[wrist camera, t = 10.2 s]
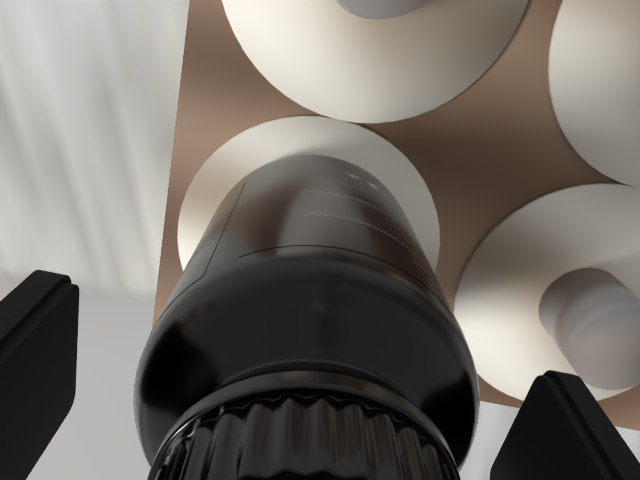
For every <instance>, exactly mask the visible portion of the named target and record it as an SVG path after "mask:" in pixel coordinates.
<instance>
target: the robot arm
mask: <svg viewBox="0 0 640 480" xmlns="http://www.w3.org/2000/svg"><path fill="white" fill-rule="evenodd" d="M78 312H79V287H78V286H77V285H75V284H71V279H70V277H69V276H68V275H63V274H58V273H53V272H48V271H42V270H36V271H34V272H33V273H32V274H30V275H29V276H28V277H27V278H26V279H25V280H24V281H23V282H22V283H20V284H19V285H18V286H17V287H16V288H15V289H14V290H13V291H11V292H10V293H9V294H8V295H7V296H6V297H5V298H4V299H3V300H2V301H0V480H26V478H27V477H28V475H29V474H30V472H31V471H32V469H33V467H34V466H35V464H36V463H37V461H38V460H39V458H40V457H41V455H42V454H43V452H44V450H45V449H46V447H47V446H48V444H49V442H50V441H51V439H52V438H53V436H54V435H55V433H56V432H57V430H58V429H59V427H60V425H61V424H62V422H63V421H64V419H65V418H66V416H67V414H68V413H69V411H70V409H71V407H72V404H73V401H74V398H75V389H76V364H77V362H76V361H77V338H78ZM490 480H640V463H639V462H638V460H637V459H636V457H635V456H634V454H633V453H632V451H631V450H630V448H629V447H628V446H627V444H626V443H625V441H624V440H623V438H622V437H621V435H620V434H619V432H618V431H617V430H616V428H615V427H614V425H613V424H612V422H611V421H610V419H609V418H608V417H607V415H606V414H605V412H604V411H603V409H602V408H601V406H600V405H599V403H598V402H597V401H596V399H595V398H594V396H593V395H592V393H591V392H590V390H589V389H588V387H587V386H586V385H585V383H584V382H583V380H582V379H581V378H580V377H579V376H577V375H574V374H569V373H564V372H559V371H554V370H548V371H546V372H545V373H544V374H543V375H539V376H537V377H536V378H535V379H534V381H533V383H532V385H531V387H530V389H529V391H528V393H527V395H526V397H525V400H524V402H523V404H522V406H521V408H520V410H519V412H518V414H517V416H516V418H515V420H514V422H513V424H512V426H511V428H510V430H509V432H508V435H507V437H506V439H505V441H504V443H503V445H502V447H501V449H500V451H499V453H498V455H497V457H496V459H495V461H494V463H493V465H492V468H491V472H490Z"/></svg>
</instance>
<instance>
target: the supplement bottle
mask: <svg viewBox="0 0 640 480" xmlns="http://www.w3.org/2000/svg"><path fill="white" fill-rule="evenodd" d="M479 406H480V399H479V383H478V376H477V371H476V367H475V364H474V360H473V357H472V354H471V352H470V349H469V347H468V344H467V341H466V339H465V336H464V334H463V332H462V329H461V327H460V325H459V323H458V321H457V319H456V317H455V315H454V313H453V311H452V309H451V307H450V305H449V303H448V301H447V298H446V296H445V294H444V292H443V290H442V288H441V286H440V284H439V282H438V280H437V278H436V276H435V274H434V272H433V270H432V268H431V266H430V264H429V262H428V259H427V257H426V255H425V253H424V251H423V249H422V247H421V245H420V243H419V241H418V239H417V237H416V235H415V233H414V231H413V229H412V227H411V225H410V223H409V221H408V219H407V217H406V215H405V213H404V211H403V210H402V208H401V206H400V204H399V203H398V201H397V200H396V198H395V197H394V196H393V194H392V193H391V192H390V191H389V190H388V189H387V187H386V186H385V185H384V184H383V183H382V182H380V181H379V180H378V179H377V178H376V177H374V176H373V175H372V174H371V173H369V172H367V171H366V170H364V169H363V168H361V167H359V166H357V165H355V164H352V163H350V162H347V161H344V160H342V159H338V158H334V157H329V156H322V155H298V156H290V157H286V158H282V159H278V160H275V161H272V162H269V163H267V164H265V165H263V166H261V167H259V168H257V169H255V170H254V171H252V172H250V173H249V174H248V175H246V176H245V177H244V178H242V179H241V180H240V181H239V182H238V183H237V184H236V185H235V186H234V187H233V188H232V189H231V190H230V191H229V192H228V194H227V195H226V196H225V198H224V199H223V200H222V202H221V204H220V205H219V207H218V209H217V210H216V212H215V214H214V215H213V217H212V219H211V221H210V222H209V224H208V226H207V228H206V230H205V232H204V234H203V236H202V237H201V239H200V241H199V243H198V245H197V247H196V249H195V251H194V252H193V254H192V256H191V258H190V260H189V262H188V264H187V265H186V267H185V269H184V271H183V273H182V275H181V277H180V279H179V280H178V282H177V284H176V286H175V288H174V290H173V292H172V294H171V295H170V297H169V299H168V301H167V303H166V305H165V307H164V309H163V310H162V312H161V314H160V316H159V318H158V320H157V322H156V324H155V325H154V327H153V329H152V331H151V334H150V336H149V338H148V341H147V343H146V346H145V348H144V350H143V353H142V355H141V358H140V362H139V365H138V369H137V372H136V379H135V385H134V414H135V422H136V427H137V432H138V436H139V440H140V443H141V446H142V449H143V452H144V454H145V457H146V459H147V461H148V463H149V465H150V467H151V469H150V472H149V476H148V479H147V480H460V476H459V472H460V471H461V469H462V467H463V465H464V463H465V461H466V459H467V457H468V454H469V451H470V449H471V446H472V443H473V440H474V436H475V432H476V428H477V423H478V416H479Z"/></svg>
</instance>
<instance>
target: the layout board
mask: <svg viewBox="0 0 640 480" xmlns="http://www.w3.org/2000/svg"><path fill="white" fill-rule="evenodd" d="M298 155H322V156H329V157H334V158H338V159H342V160H344V161H347V162H350V163H352V164H355V165H357V166H359V167H361V168H363V169H364V170H366V171H367V172H369V173H371V174H372V175H373V176H374V177H376V178H377V179H378V180H379V181H380V182H382V183H383V184H384V185H385V186H386V187H387V189H388V190H389V191H390V192H391V193H392V194H393V196H394V197H395V198H396V200H397V201H398V203H399V204H400V206H401V208H402V210H403V211H404V213H405V215H406V217H407V219H408V221H409V223H410V225H411V227H412V229H413V231H414V233H415V235H416V237H417V239H418V241H419V243H420V245H421V247H422V249H423V251H424V253H425V255H426V257H427V259H428V262H429V264H430V266H431V268H432V270H433V272H434V274H435V276H436V278H437V280H438V282H439V284H440V286H441V288H442V290H443V292H444V294H445V296H446V298H447V301H448V303H449V305H450V307H451V309H452V311H453V313H454V315H455V317H456V319H457V321H458V323H459V325H460V327H461V329H462V332H463V334H464V336H465V339H466V341H467V344H468V347H469V349H470V352H471V354H472V357H473V360H474V364H475V367H476V371H477V376H478V383H479V399H480V401H485V402H490V403H495V404H501V405H506V406H511V407H516V408H521V406H522V404H523V402H524V400H525V397H526V395H527V393H528V391H529V389H530V387H531V385H532V383H533V381H534V379H535V378H536V377H537V376H539V375H543V374H544V373H545V372H546V371H548V370H554V371H559V372H564V373H569V374H574V375H577V376H579V377H580V378H581V379H582V380H583V382H584V383H585V385H586V386H587V387H588V389H589V390H590V392H591V393H592V395H593V396H594V398H595V399H596V401H597V402H598V403H599V405H600V406H601V408H602V409H603V411H604V412H605V414H606V415H607V417H608V418H609V419H610V421H611V422H612V424H613V425H614V426H617V427H622V428H628V429H633V430H638V431H640V0H190V3H189V12H188V21H187V30H186V38H185V47H184V56H183V65H182V73H181V82H180V91H179V100H178V109H177V117H176V126H175V135H174V144H173V152H172V161H171V170H170V179H169V187H168V196H167V205H166V214H165V223H164V231H163V240H162V249H161V258H160V266H159V275H158V284H157V293H156V301H155V310H154V319H153V327H154V325H155V324H156V322H157V320H158V318H159V316H160V314H161V312H162V310H163V309H164V307H165V305H166V303H167V301H168V299H169V297H170V295H171V294H172V292H173V290H174V288H175V286H176V284H177V282H178V280H179V279H180V277H181V275H182V273H183V271H184V269H185V267H186V265H187V264H188V262H189V260H190V258H191V256H192V254H193V252H194V251H195V249H196V247H197V245H198V243H199V241H200V239H201V237H202V236H203V234H204V232H205V230H206V228H207V226H208V224H209V222H210V221H211V219H212V217H213V215H214V214H215V212H216V210H217V209H218V207H219V205H220V204H221V202H222V200H223V199H224V198H225V196H226V195H227V194H228V192H229V191H230V190H231V189H232V188H233V187H234V186H235V185H236V184H237V183H238V182H239V181H240V180H241V179H242V178H244V177H245V176H246V175H248V174H249V173H250V172H252V171H254V170H255V169H257V168H259V167H261V166H263V165H265V164H267V163H269V162H272V161H275V160H278V159H282V158H286V157H290V156H298ZM152 329H153V328H152Z"/></svg>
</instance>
